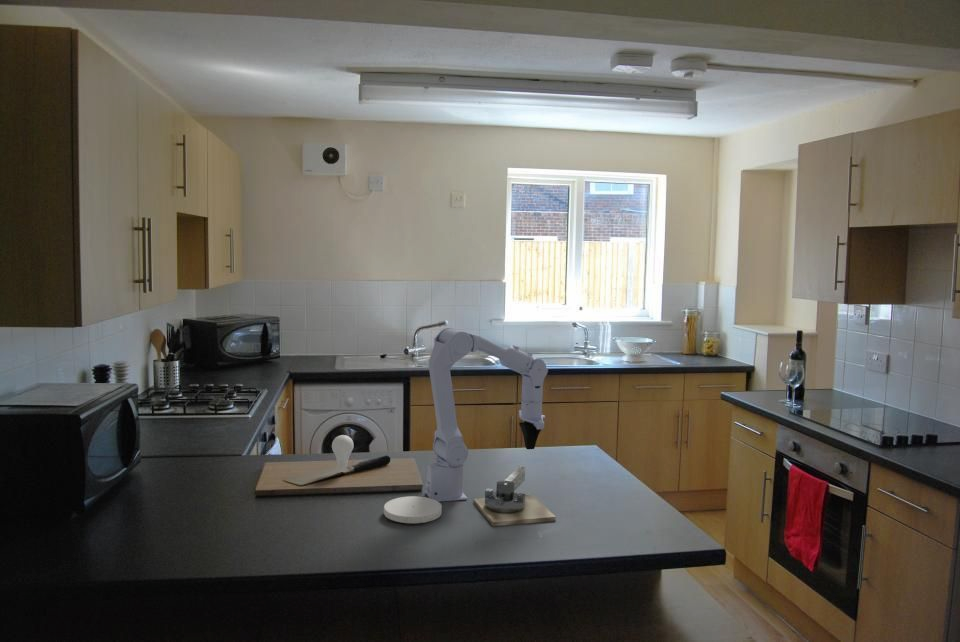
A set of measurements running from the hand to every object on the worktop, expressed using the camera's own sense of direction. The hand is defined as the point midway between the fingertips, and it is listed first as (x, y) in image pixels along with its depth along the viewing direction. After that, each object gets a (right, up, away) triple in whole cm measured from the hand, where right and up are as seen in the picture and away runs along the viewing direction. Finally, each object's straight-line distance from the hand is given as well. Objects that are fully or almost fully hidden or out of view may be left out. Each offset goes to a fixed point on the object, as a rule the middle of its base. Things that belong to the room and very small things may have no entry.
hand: (529, 448), depth 195 cm
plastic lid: (-30, -12, -24) cm, 40 cm away
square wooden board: (-6, -12, -19) cm, 23 cm away
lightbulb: (-53, -8, +6) cm, 54 cm away
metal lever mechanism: (-6, -11, -14) cm, 19 cm away
